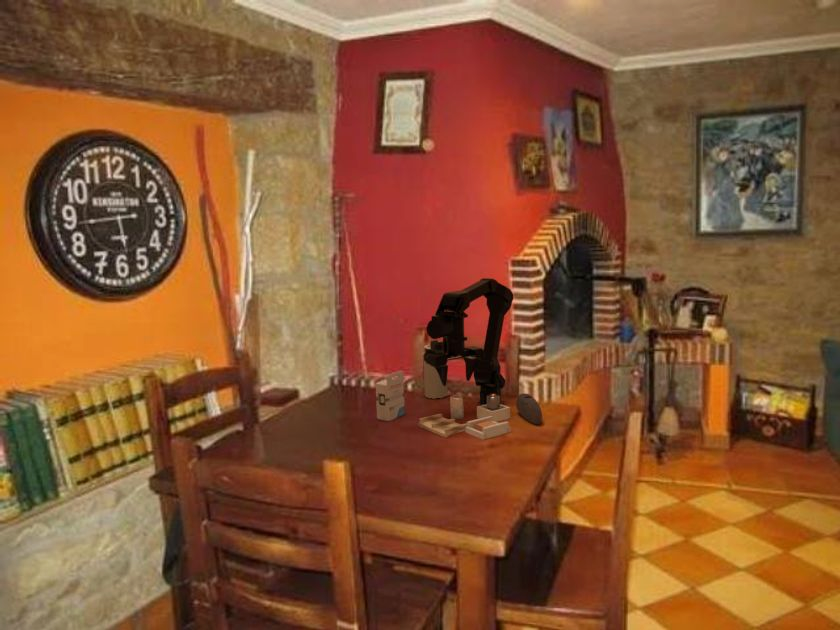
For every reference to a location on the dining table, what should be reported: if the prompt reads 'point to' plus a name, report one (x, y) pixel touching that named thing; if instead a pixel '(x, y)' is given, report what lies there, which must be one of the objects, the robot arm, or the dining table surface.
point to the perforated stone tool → (529, 408)
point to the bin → (494, 413)
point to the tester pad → (483, 425)
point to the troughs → (441, 425)
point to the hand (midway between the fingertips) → (456, 383)
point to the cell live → (456, 406)
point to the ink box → (390, 397)
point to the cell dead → (493, 402)
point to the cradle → (487, 428)
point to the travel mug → (432, 378)
